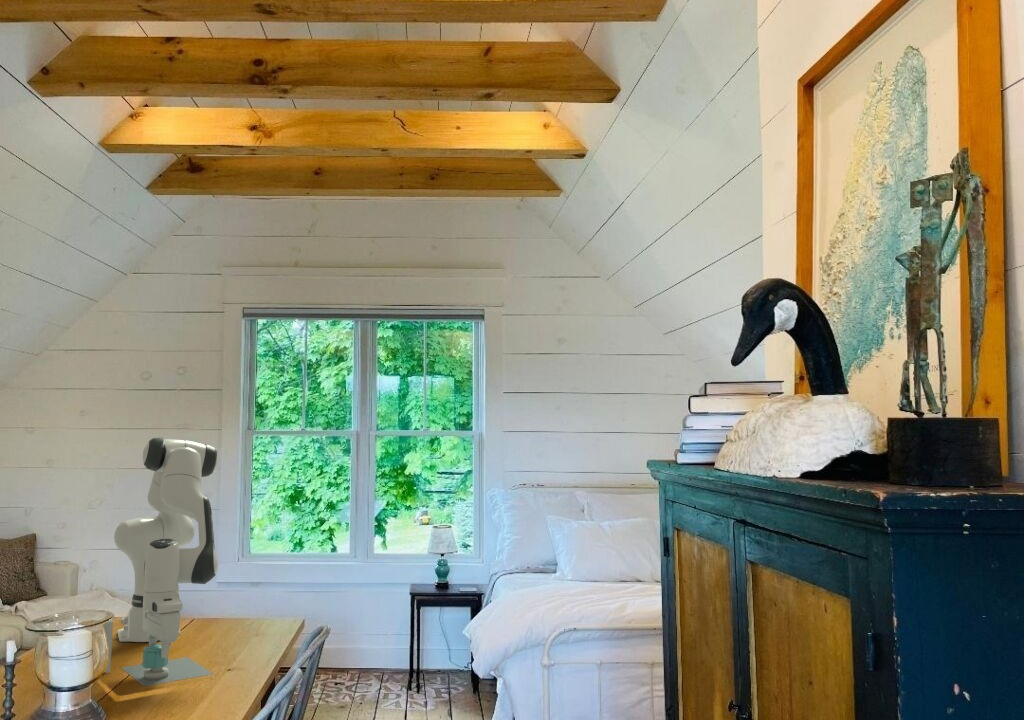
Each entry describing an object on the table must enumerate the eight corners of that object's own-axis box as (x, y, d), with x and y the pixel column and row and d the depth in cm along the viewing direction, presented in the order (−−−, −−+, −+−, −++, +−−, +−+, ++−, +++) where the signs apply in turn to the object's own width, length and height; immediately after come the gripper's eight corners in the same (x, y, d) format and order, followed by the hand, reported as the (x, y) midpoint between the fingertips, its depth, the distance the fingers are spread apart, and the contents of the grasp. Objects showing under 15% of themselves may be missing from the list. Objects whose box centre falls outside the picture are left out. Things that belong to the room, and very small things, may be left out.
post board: (121, 672, 225) (122, 641, 226) (187, 661, 236) (188, 632, 237) (143, 691, 208) (145, 658, 209) (213, 678, 219) (215, 647, 220)
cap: (139, 668, 214) (140, 649, 214) (149, 662, 219) (150, 644, 220) (161, 668, 214) (162, 649, 214) (170, 662, 219) (171, 644, 220)
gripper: (137, 597, 224) (135, 648, 223) (160, 608, 209) (157, 663, 207) (161, 594, 228) (159, 644, 227) (185, 604, 213) (182, 659, 211)
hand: (158, 653), depth 217 cm, fingers open, 8 cm apart
